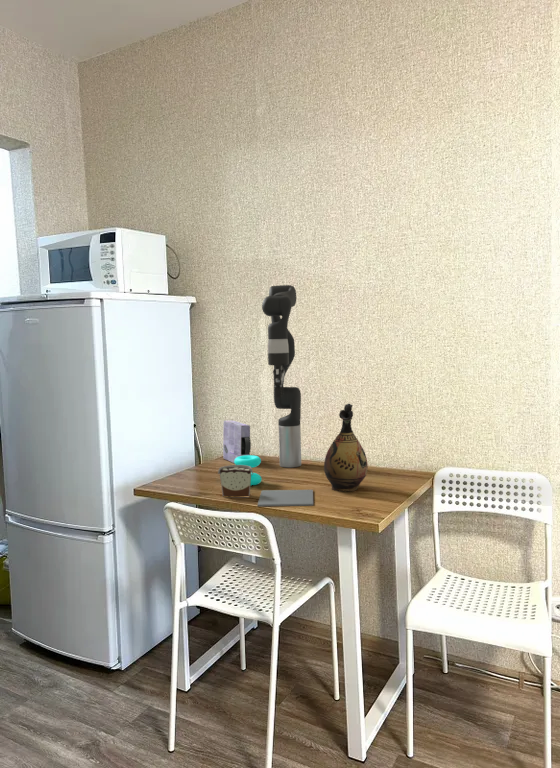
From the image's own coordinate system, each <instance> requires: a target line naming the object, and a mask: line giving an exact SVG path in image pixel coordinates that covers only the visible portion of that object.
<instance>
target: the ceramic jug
mask: <svg viewBox="0 0 560 768" xmlns="http://www.w3.org/2000/svg"><path fill="white" fill-rule="evenodd" d="M338 414H339V415H338V416H339V418H340V419H341V420H342V424H341V429H340V431H339V433H338V434H337V435H336V437H335V439H334V440H333V441H332V443H331V444H330V446H329V448H328V449H327V452H326V454H325V458H324V462H323V471H324V475H325V478H326V479H327V481H328V482H329V483H330V485H331V490H332V491H337V492H344V493H345V492H355V491H357V490H358V488H359V486H360V485H361V483H362V482H363V481H364V479H365V478H366V477H367V473H368V467H369V466H368V465H369V464H368V458H367V456H366V452H365V449H364V447H363V446H362V445H361V443H360V440H359V439H358V438H357V436H356V435H355V433H354V431H353V428H352V420H353V417H354V412H353V404H351V403H347V404H345V405H344V407H343V409H341V410H340V412H339V413H338Z"/></svg>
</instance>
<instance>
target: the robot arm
mask: <svg viewBox="0 0 560 768" xmlns="http://www.w3.org/2000/svg"><path fill="white" fill-rule="evenodd" d="M296 303H297V290H296V288H295V287H294V286H293V285H290V284H287V285H286V284H283V285H282V284H281V285H272V286H270V287H269V290H268V296H266V297H264V299H263V301H262V302H261V309H262V312H263V314H264V315H265V316H267V317H270V318H271V323H269V324H268V326H267V339H268V340H267V363H268V365H269V366H273V370H272V376H273V379H272V380H273V403H274V406H275V408H276V409H280V410H290V412H289V414H287V415H285V416H282V417H280V418H279V419H278V445H279V446H278V449H279V450H278V453H279V467H282V468H298V467H300V466H301V467H302V435H301V434H302V433H301V428H302V427H301V419H302V418H301V416H302V413H301V412H302V411H301V407H302V393H301V389H300V388H299V387H298V386H284V384H285V377H286V375H287V374H286V373H287V372H288V370H289V368H290V366H291V364H292V363H293V361H294V359H295V357H296V348H295V343H296V342H295V339H294V338H295V337H294V336H293V334H292V333H291V332H290V330H289V329H288V326H289V325H288V323H289V320H290V319H289V318H290V316H291V315H290V314H291V312H292V308H293V307H294V306H296Z"/></svg>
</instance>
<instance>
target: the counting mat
mask: <svg viewBox="0 0 560 768" xmlns="http://www.w3.org/2000/svg"><path fill="white" fill-rule="evenodd" d="M301 506H303V507H307V506H311V507H312V506H314V490H313V489H275V490H274V489H273V490H272V489H271V490H270V489H265V490H263V489H262V490H261V492H260V495H259V498H258V501H257V507H301Z"/></svg>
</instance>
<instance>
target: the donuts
mask: <svg viewBox="0 0 560 768" xmlns="http://www.w3.org/2000/svg"><path fill="white" fill-rule="evenodd" d="M261 463H262V459H261V457H259V456H258V455H254V454H253V455H251V454H250V455H245V456H239V457H237V458H235V460H234V463H233V464H234V465H246V466H250V467H251V469H253V468H257V467H258V466H259V465H260V464H261ZM262 479H263V478H262V476H261V475H260V474H258V473H256V472H253V475H252V472H251V486H250V487H252V485H253V486H257V485H259V484H260V483H261V482H262Z"/></svg>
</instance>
